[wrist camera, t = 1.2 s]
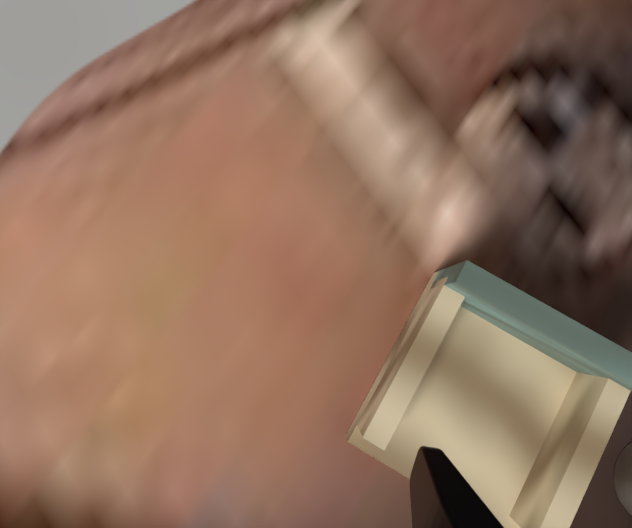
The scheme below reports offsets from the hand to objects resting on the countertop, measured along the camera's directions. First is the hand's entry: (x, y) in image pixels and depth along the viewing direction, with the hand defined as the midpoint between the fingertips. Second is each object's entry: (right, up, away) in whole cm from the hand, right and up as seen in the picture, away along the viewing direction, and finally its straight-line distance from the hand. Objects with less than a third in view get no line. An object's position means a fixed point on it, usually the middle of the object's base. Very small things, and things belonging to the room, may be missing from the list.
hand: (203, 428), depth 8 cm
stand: (+11, -4, +15) cm, 19 cm away
